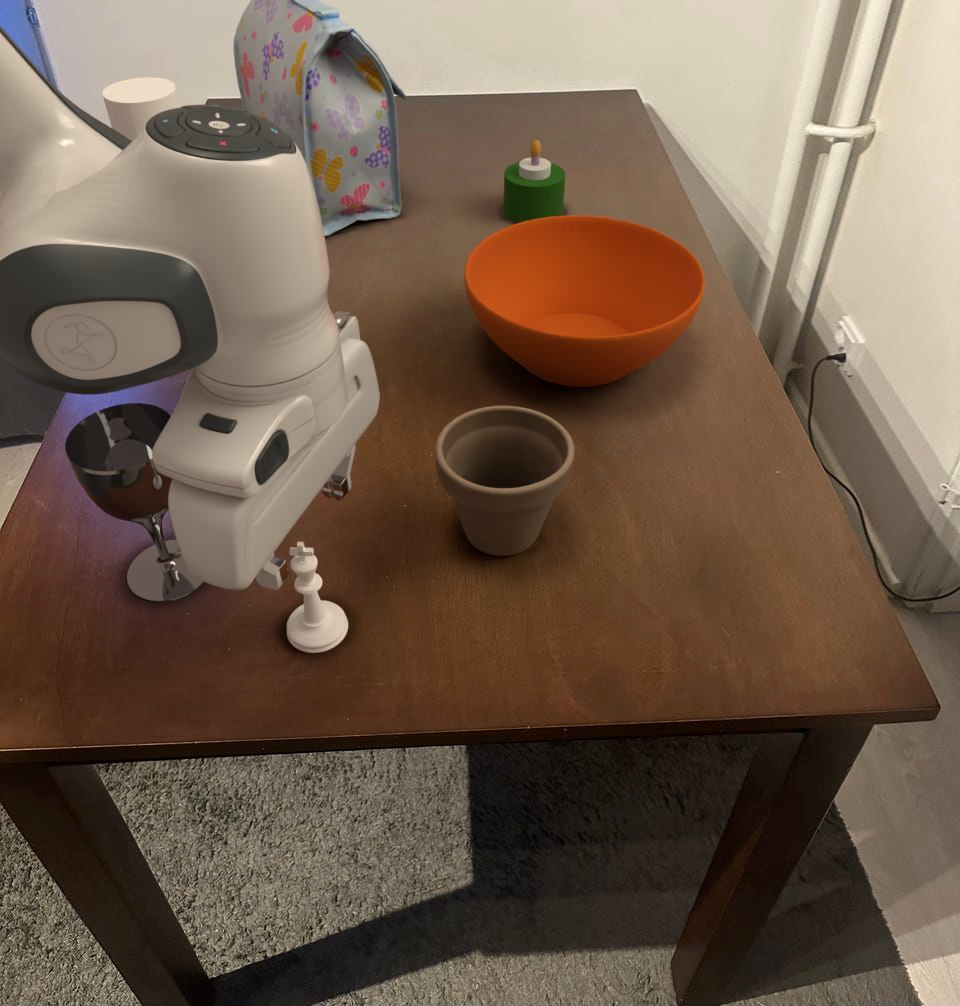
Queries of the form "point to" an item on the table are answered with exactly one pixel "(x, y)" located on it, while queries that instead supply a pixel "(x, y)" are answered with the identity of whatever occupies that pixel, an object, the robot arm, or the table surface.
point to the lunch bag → (324, 103)
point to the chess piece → (313, 608)
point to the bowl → (583, 295)
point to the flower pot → (503, 473)
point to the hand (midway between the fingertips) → (307, 535)
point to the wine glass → (132, 490)
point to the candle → (533, 188)
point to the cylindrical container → (138, 102)
